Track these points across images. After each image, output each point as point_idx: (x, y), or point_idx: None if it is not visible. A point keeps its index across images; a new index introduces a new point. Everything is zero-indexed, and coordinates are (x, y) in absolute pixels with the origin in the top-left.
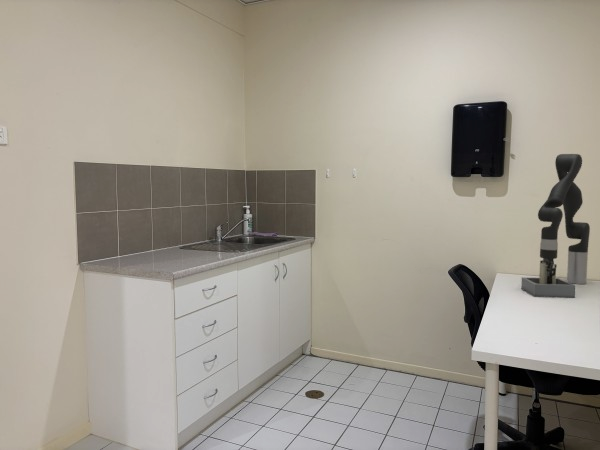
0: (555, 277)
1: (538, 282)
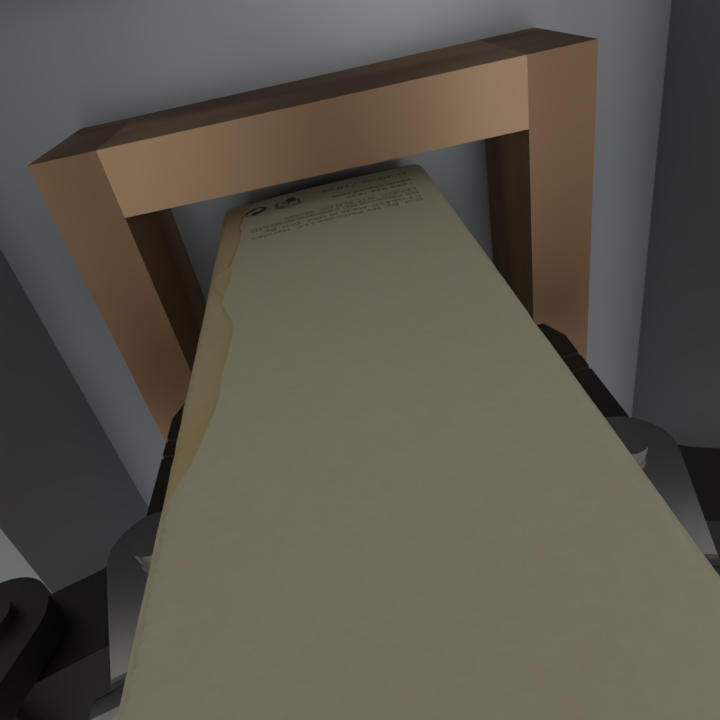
0: (518, 299)
1: (38, 453)
